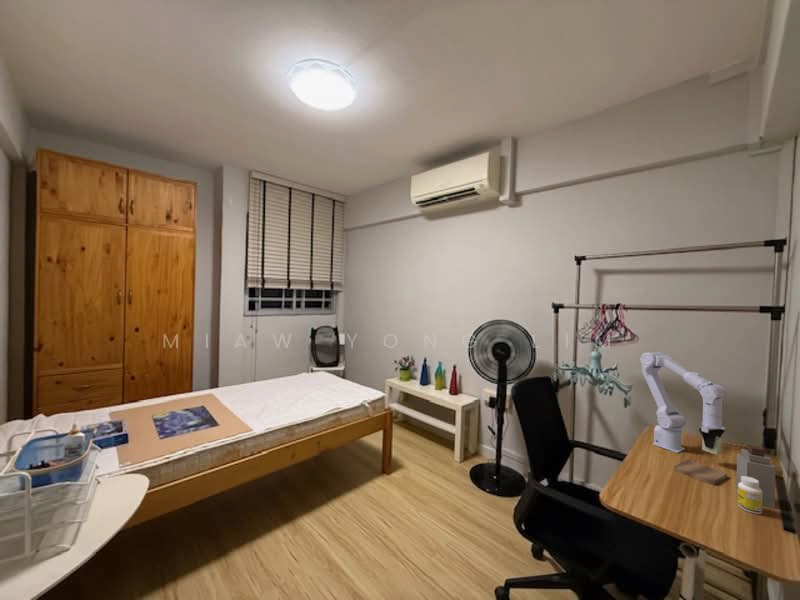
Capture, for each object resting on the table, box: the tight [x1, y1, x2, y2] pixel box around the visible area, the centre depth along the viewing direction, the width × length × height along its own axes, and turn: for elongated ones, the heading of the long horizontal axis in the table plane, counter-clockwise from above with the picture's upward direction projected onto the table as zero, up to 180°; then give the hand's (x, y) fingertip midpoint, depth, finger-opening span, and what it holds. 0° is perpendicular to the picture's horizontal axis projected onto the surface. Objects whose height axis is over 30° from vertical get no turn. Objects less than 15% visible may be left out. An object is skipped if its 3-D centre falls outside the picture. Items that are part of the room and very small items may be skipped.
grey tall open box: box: [736, 443, 776, 509], centre depth 110 cm, size 7×7×18 cm
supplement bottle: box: [737, 476, 763, 515], centre depth 105 cm, size 5×5×10 cm
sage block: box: [701, 437, 722, 455], centre depth 134 cm, size 4×4×6 cm
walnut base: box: [673, 459, 728, 486], centre depth 126 cm, size 12×12×2 cm
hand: (711, 446), depth 134 cm, fingers closed on sage block, 4 cm apart
